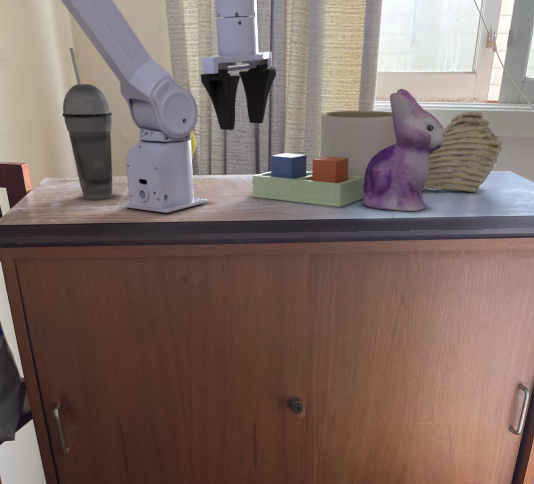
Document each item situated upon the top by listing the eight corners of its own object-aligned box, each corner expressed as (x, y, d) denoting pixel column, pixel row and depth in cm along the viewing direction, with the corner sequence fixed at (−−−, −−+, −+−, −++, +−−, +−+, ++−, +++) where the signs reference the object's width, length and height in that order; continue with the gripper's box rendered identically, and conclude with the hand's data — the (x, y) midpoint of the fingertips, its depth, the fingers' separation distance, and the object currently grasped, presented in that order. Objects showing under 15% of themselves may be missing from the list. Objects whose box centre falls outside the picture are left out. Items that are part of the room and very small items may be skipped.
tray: (364, 198, 106) (365, 176, 104) (339, 207, 100) (340, 184, 98) (280, 189, 113) (280, 168, 111) (252, 196, 107) (252, 175, 106)
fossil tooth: (403, 194, 115) (494, 185, 114) (410, 199, 109) (505, 189, 108) (403, 118, 109) (498, 107, 108) (410, 119, 104) (510, 108, 103)
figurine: (438, 212, 97) (453, 90, 89) (366, 212, 97) (375, 91, 89) (425, 199, 105) (438, 87, 97) (359, 199, 105) (366, 87, 97)
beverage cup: (110, 202, 104) (92, 47, 93) (66, 200, 105) (43, 47, 95) (128, 193, 110) (112, 47, 99) (86, 192, 111) (66, 47, 101)
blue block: (291, 193, 105) (291, 157, 103) (270, 190, 107) (270, 155, 105) (306, 189, 108) (306, 154, 105) (285, 186, 110) (285, 152, 107)
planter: (330, 196, 107) (333, 118, 101) (310, 183, 118) (312, 111, 112) (404, 192, 109) (412, 116, 103) (379, 180, 120) (384, 110, 114)
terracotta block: (334, 197, 102) (336, 161, 99) (311, 195, 104) (312, 159, 101) (346, 193, 105) (348, 157, 102) (324, 191, 107) (325, 156, 104)
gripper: (228, 17, 88) (235, 133, 96) (288, 15, 98) (290, 120, 106) (186, 19, 92) (196, 131, 99) (248, 17, 102) (252, 119, 109)
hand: (242, 126), depth 103 cm, fingers open, 7 cm apart
